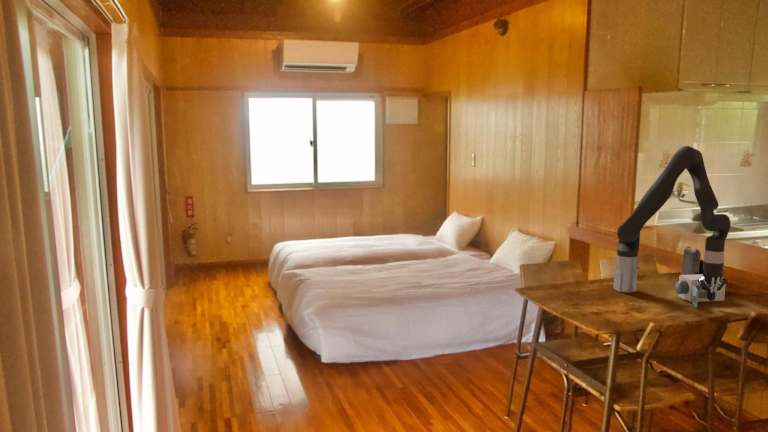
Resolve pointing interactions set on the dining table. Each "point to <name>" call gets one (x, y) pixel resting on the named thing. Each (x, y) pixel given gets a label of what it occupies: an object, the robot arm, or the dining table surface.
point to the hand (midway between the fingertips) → (710, 300)
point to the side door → (694, 296)
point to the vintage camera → (692, 262)
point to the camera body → (687, 281)
